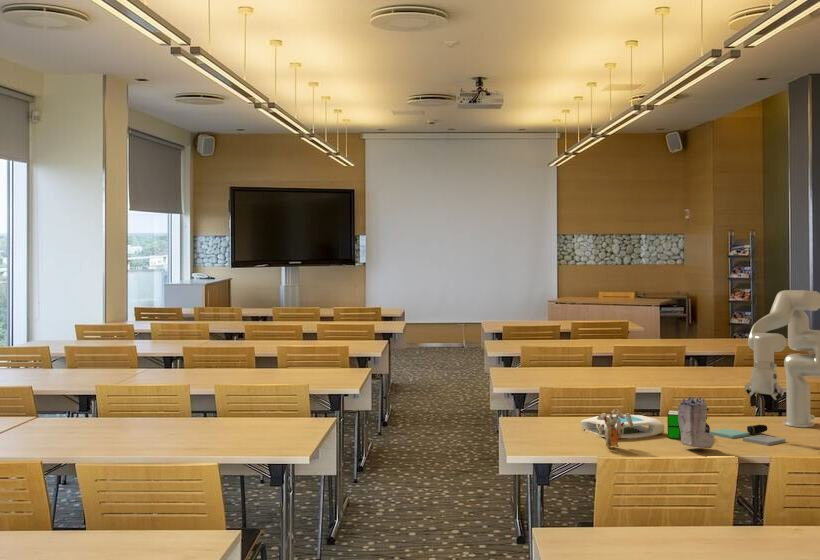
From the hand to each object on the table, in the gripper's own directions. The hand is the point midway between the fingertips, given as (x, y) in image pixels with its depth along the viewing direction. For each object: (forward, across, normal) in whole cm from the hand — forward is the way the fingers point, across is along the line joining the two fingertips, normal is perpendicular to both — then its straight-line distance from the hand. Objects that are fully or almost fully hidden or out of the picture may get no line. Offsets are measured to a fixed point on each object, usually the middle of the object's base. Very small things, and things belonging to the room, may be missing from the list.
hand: (764, 407), depth 325 cm
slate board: (+14, 0, +1) cm, 14 cm away
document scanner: (+14, +44, +35) cm, 58 cm away
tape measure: (+13, +8, -11) cm, 19 cm away
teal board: (+14, +16, +1) cm, 21 cm away
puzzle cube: (+14, +25, +21) cm, 35 cm away
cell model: (+13, +7, +34) cm, 37 cm away
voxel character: (+12, +25, +60) cm, 66 cm away
